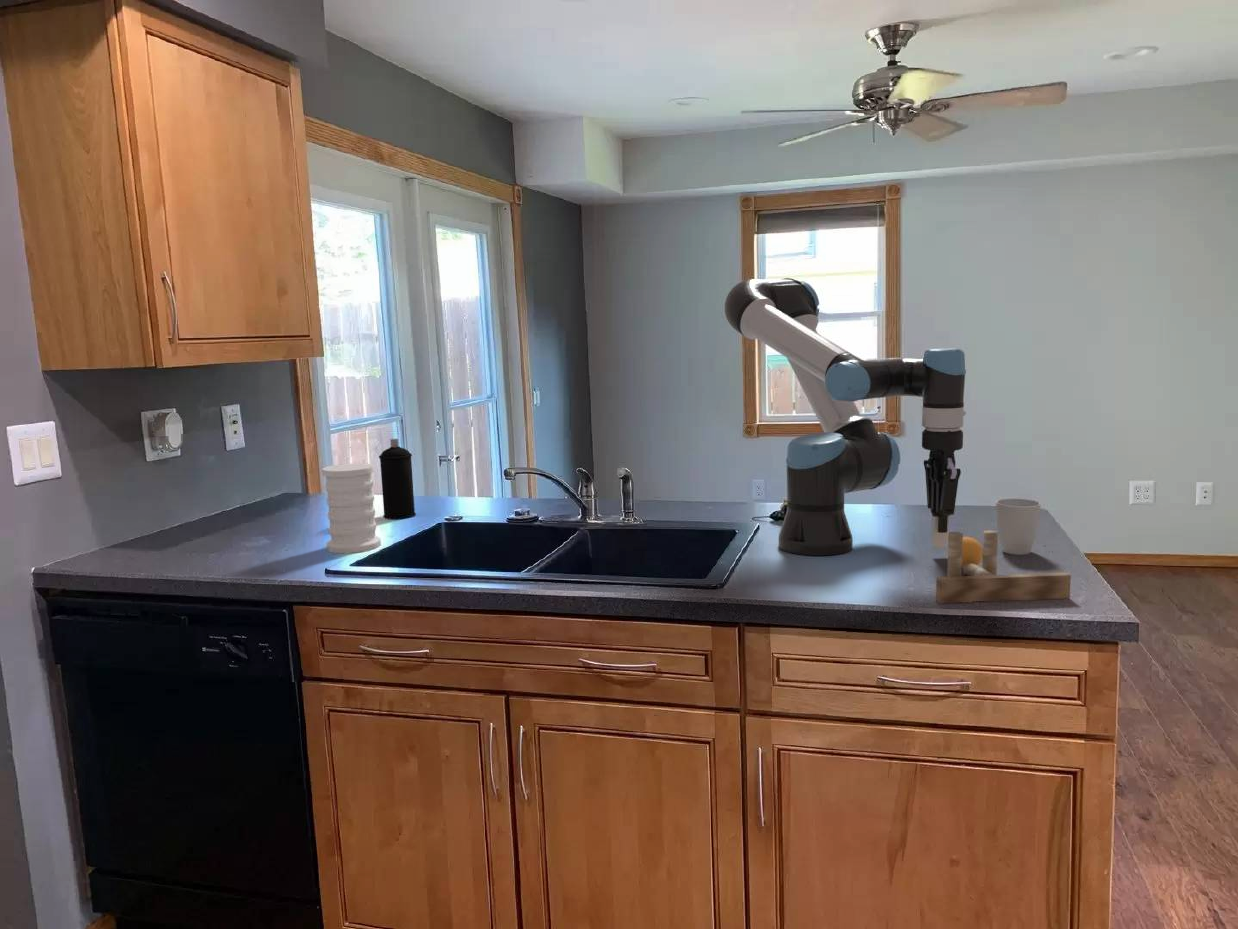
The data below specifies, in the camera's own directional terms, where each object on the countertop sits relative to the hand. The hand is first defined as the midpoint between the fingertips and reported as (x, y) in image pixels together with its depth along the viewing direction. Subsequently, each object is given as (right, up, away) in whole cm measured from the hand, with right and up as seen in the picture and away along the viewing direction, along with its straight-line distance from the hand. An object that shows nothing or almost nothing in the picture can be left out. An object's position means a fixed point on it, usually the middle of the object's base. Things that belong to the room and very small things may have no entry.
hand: (939, 547), depth 180 cm
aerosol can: (-120, +3, +54) cm, 132 cm away
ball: (+2, 0, -9) cm, 9 cm away
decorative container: (-122, -2, +23) cm, 125 cm away
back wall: (+1, -6, -27) cm, 28 cm away
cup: (+16, -1, +3) cm, 17 cm away
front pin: (+1, -3, -12) cm, 13 cm away
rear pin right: (-3, -4, -15) cm, 16 cm away
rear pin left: (+4, -4, -15) cm, 16 cm away
